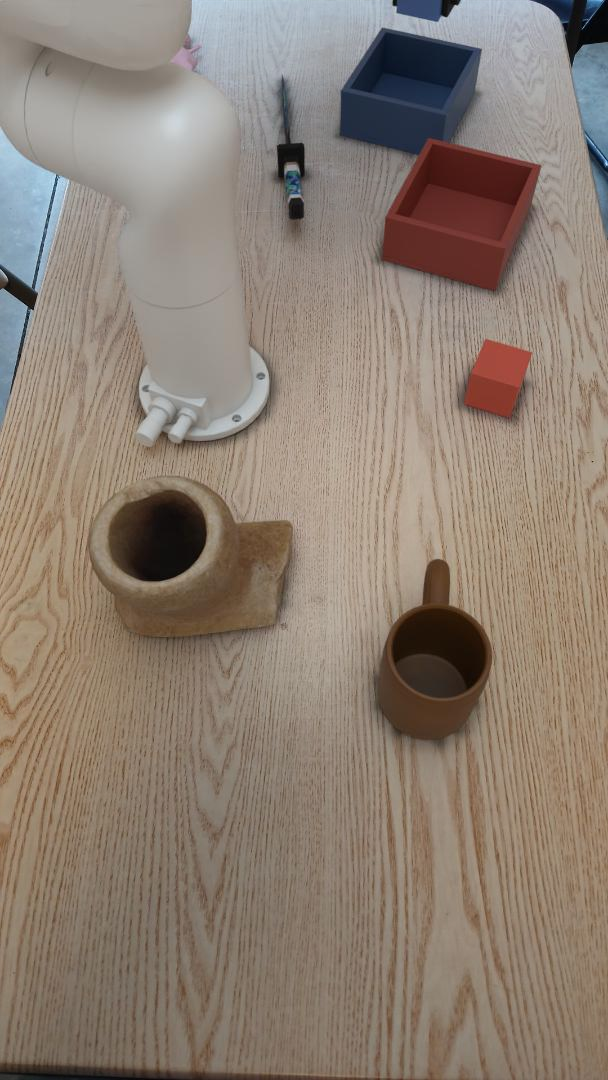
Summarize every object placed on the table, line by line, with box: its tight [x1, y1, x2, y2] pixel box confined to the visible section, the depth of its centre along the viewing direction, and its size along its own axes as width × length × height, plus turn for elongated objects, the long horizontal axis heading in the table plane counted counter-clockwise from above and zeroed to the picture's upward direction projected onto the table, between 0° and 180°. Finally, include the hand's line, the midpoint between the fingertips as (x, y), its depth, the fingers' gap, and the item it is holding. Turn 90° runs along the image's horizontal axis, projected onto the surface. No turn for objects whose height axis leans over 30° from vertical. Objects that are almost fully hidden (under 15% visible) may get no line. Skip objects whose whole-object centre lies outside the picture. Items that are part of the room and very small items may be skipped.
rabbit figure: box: [170, 33, 202, 71], centre depth 104 cm, size 6×6×15 cm
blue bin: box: [339, 27, 483, 155], centre depth 99 cm, size 14×13×6 cm
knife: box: [276, 74, 306, 221], centre depth 96 cm, size 31×3×4 cm, turn 1°
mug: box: [377, 558, 493, 741], centre depth 62 cm, size 12×8×9 cm, turn 175°
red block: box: [463, 338, 533, 419], centre depth 78 cm, size 4×4×4 cm
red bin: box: [381, 138, 542, 292], centre depth 88 cm, size 14×13×6 cm
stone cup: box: [87, 475, 294, 638], centre depth 63 cm, size 15×12×15 cm
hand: (424, 2), depth 85 cm, fingers closed on blue block, 4 cm apart
